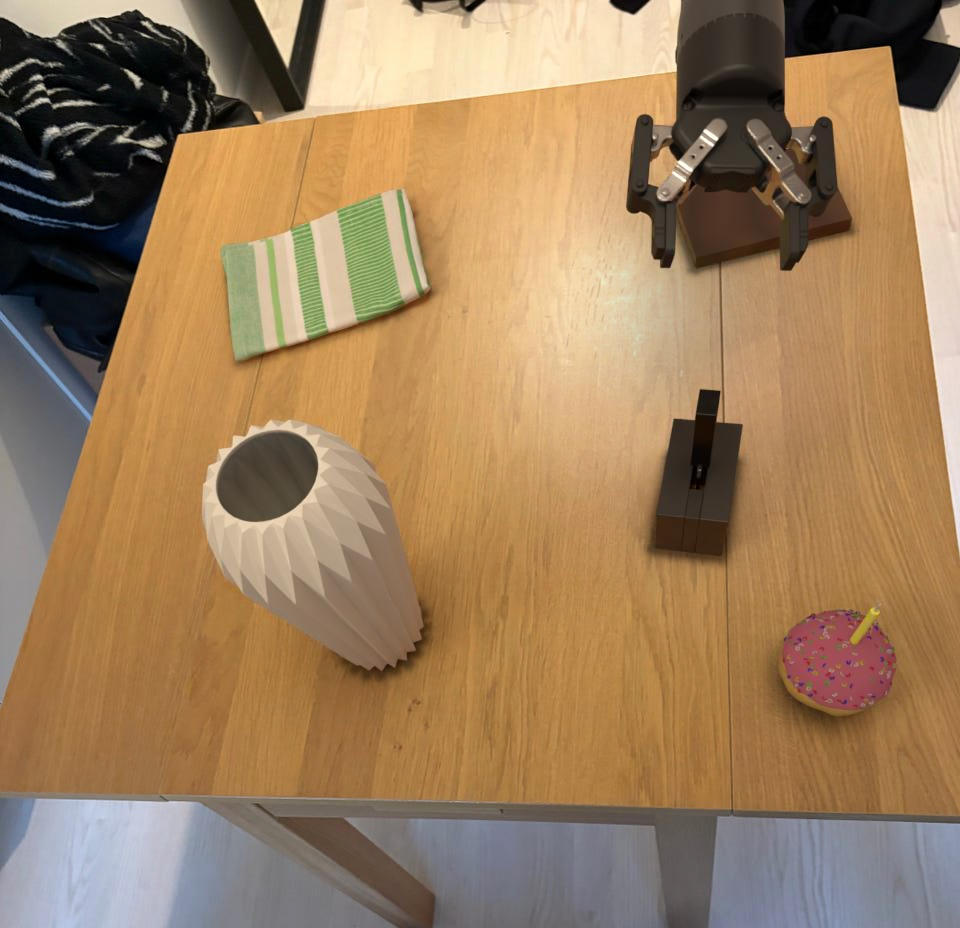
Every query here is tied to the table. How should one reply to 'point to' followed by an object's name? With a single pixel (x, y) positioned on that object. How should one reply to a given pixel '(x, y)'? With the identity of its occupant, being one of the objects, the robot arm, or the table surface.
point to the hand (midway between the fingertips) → (728, 263)
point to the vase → (313, 540)
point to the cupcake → (838, 661)
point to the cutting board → (746, 222)
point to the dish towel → (324, 275)
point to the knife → (704, 430)
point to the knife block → (697, 491)
